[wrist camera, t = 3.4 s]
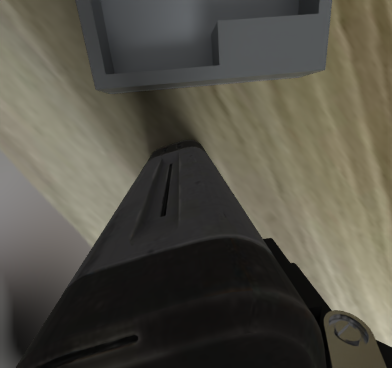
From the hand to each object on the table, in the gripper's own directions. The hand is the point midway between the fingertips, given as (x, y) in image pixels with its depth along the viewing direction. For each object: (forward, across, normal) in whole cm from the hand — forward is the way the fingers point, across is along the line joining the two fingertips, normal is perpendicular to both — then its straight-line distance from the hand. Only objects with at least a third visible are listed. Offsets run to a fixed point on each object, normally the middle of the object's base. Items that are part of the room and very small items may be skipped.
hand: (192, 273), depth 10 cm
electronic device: (+14, 0, 0) cm, 14 cm away
